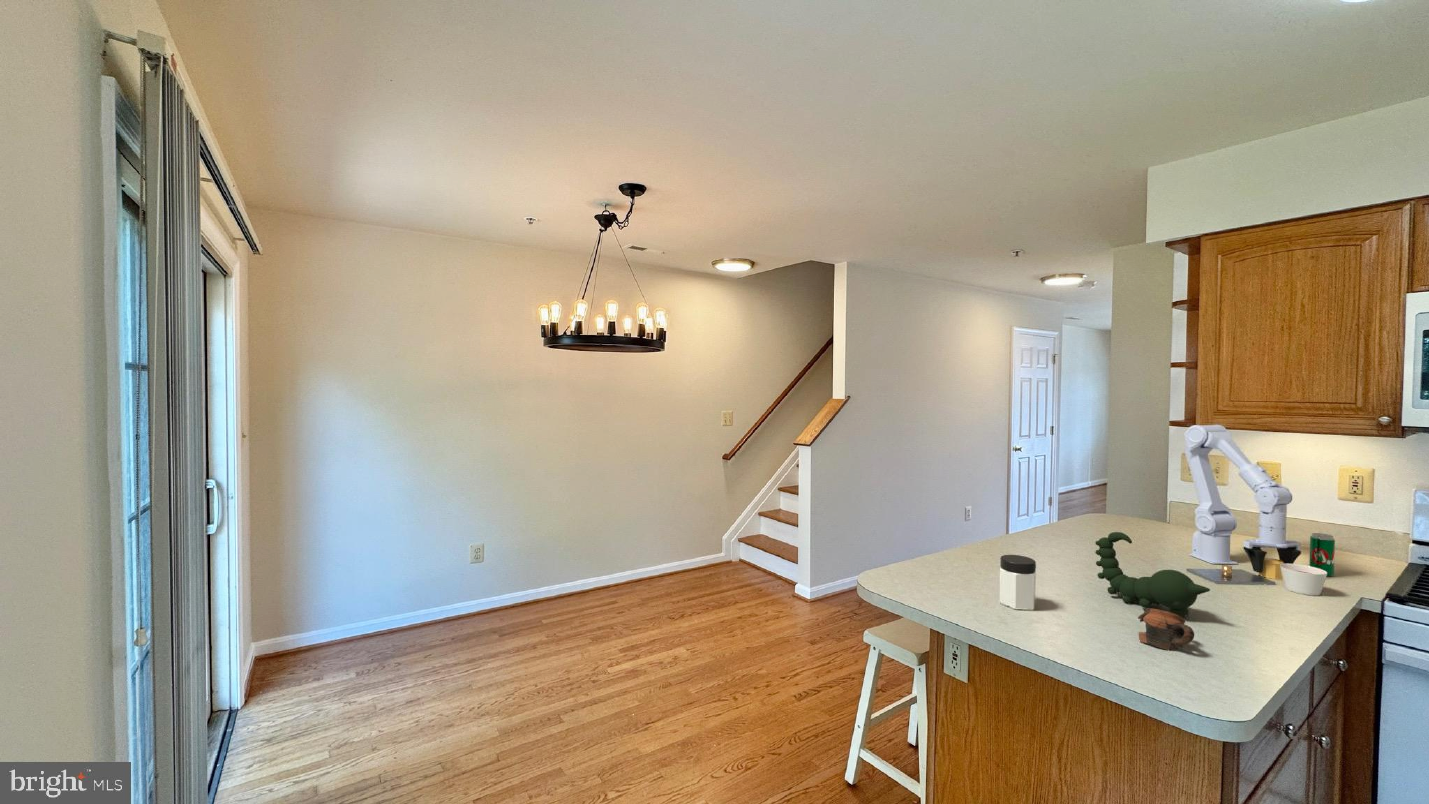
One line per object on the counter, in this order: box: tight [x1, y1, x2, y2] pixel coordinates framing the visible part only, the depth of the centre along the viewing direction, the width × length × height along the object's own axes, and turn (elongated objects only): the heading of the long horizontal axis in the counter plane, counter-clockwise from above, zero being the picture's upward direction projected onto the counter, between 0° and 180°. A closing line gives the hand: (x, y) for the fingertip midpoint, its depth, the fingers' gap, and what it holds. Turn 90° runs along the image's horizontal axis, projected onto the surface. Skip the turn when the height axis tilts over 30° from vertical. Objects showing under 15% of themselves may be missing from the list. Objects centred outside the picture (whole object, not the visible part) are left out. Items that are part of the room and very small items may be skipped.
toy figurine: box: [1094, 531, 1211, 618], centre depth 143 cm, size 9×19×25 cm
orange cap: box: [1258, 557, 1283, 581], centre depth 166 cm, size 5×5×5 cm
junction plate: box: [1185, 564, 1276, 586], centre depth 165 cm, size 11×16×4 cm
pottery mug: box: [1137, 607, 1195, 651], centre depth 123 cm, size 12×10×8 cm
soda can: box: [1308, 532, 1336, 578], centre depth 168 cm, size 5×5×12 cm
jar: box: [999, 554, 1037, 610], centre depth 146 cm, size 9×8×12 cm
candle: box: [1280, 563, 1327, 597], centre depth 154 cm, size 9×9×6 cm
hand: (1271, 572), depth 166 cm, fingers open, 7 cm apart
